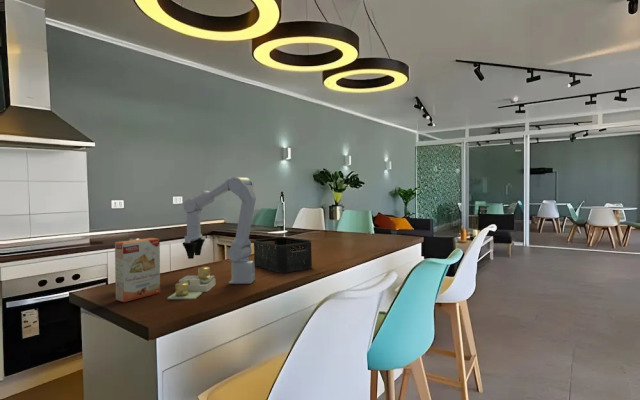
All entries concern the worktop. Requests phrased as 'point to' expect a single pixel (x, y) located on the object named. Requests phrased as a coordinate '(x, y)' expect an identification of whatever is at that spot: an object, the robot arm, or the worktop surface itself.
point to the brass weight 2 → (203, 272)
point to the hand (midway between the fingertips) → (194, 256)
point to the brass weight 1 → (181, 289)
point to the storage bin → (283, 254)
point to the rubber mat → (190, 296)
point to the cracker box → (137, 268)
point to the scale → (199, 285)
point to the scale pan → (197, 278)
